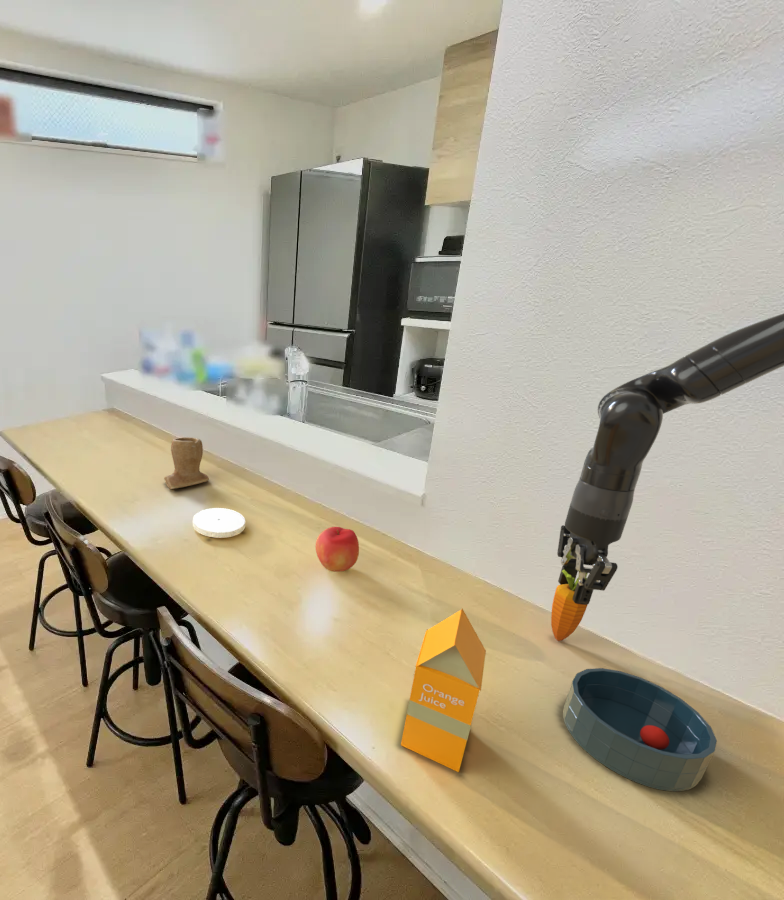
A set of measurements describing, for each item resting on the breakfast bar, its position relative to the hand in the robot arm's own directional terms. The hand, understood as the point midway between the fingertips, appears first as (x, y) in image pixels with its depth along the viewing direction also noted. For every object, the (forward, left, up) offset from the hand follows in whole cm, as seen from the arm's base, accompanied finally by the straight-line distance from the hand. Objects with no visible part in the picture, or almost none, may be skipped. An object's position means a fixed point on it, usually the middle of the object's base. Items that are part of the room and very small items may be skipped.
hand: (572, 593), depth 88 cm
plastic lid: (+74, -5, -11) cm, 75 cm away
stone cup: (+98, -26, -11) cm, 102 cm away
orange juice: (+17, +34, -11) cm, 39 cm away
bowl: (-7, +20, -10) cm, 24 cm away
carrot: (0, 0, -11) cm, 11 cm away
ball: (-10, +20, -8) cm, 24 cm away
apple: (+42, -2, -11) cm, 43 cm away
